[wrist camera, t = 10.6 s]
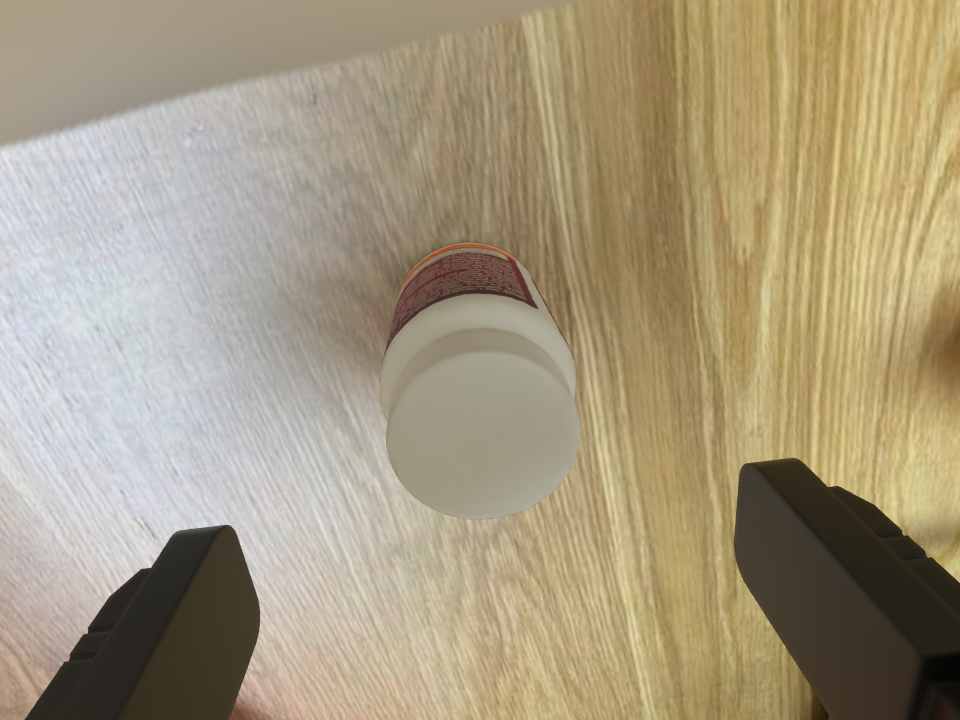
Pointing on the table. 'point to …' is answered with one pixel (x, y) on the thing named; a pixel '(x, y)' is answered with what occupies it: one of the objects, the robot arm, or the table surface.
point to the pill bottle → (477, 386)
